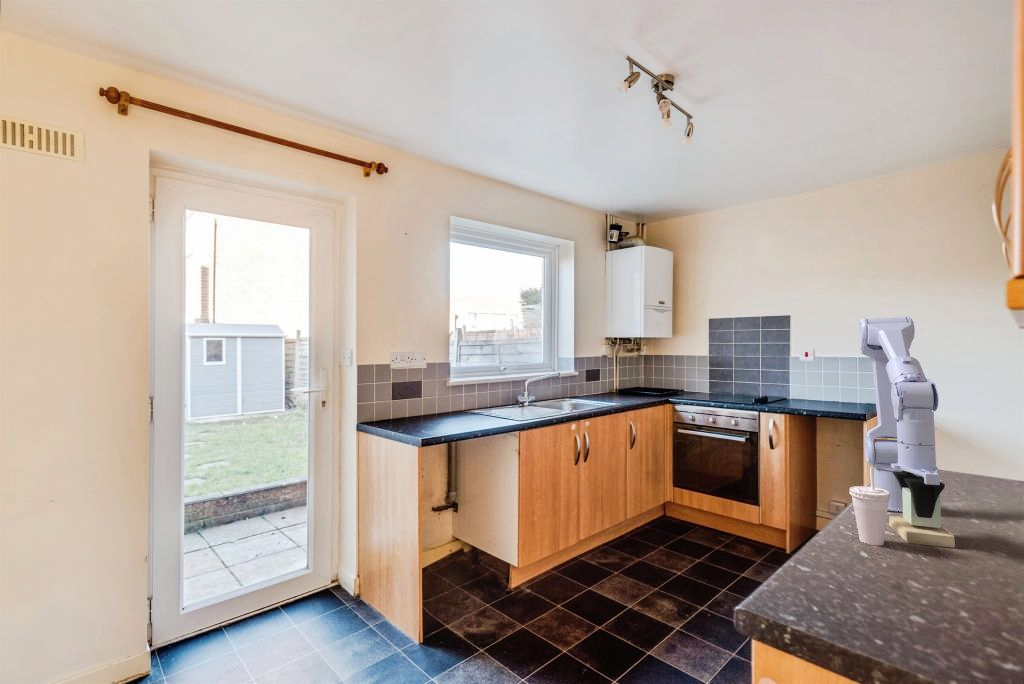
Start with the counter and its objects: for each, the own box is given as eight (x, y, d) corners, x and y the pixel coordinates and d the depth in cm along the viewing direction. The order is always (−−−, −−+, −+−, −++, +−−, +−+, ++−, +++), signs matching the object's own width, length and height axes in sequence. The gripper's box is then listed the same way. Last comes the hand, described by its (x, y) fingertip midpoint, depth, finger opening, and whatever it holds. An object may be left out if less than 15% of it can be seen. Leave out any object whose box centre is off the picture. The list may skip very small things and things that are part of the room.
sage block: (902, 517, 97) (902, 487, 97) (930, 520, 96) (930, 489, 96) (911, 524, 93) (910, 493, 93) (940, 528, 91) (940, 496, 92)
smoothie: (900, 549, 88) (897, 472, 89) (861, 547, 90) (858, 470, 90) (881, 536, 94) (878, 464, 95) (844, 534, 96) (841, 463, 96)
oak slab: (889, 525, 100) (889, 515, 100) (931, 529, 98) (931, 519, 98) (907, 542, 91) (907, 532, 91) (954, 547, 88) (954, 536, 88)
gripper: (879, 436, 103) (882, 500, 103) (904, 448, 90) (907, 522, 89) (920, 437, 101) (923, 503, 100) (952, 450, 87) (956, 527, 87)
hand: (919, 513), depth 95 cm, fingers closed on sage block, 4 cm apart
